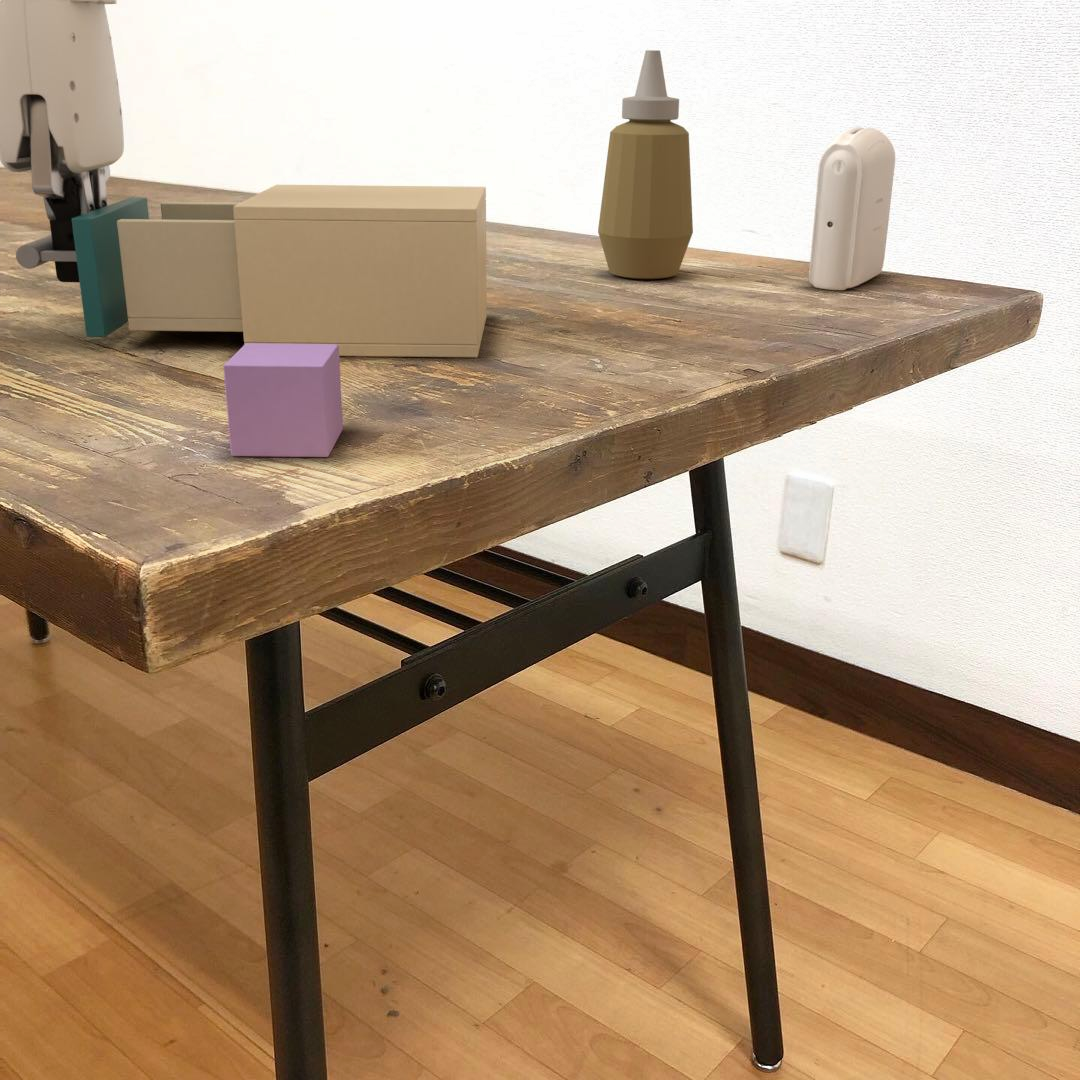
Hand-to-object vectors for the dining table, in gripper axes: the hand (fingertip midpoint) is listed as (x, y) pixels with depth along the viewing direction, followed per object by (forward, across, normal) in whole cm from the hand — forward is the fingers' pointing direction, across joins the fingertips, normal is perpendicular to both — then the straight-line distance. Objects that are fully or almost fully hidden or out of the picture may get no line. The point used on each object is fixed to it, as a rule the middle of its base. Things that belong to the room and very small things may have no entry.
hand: (85, 279), depth 82 cm
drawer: (+3, 0, +6) cm, 7 cm away
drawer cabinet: (+3, 0, +19) cm, 19 cm away
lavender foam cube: (+3, +24, +18) cm, 31 cm away
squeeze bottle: (+4, -25, +39) cm, 47 cm away
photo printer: (+3, -23, +56) cm, 61 cm away
